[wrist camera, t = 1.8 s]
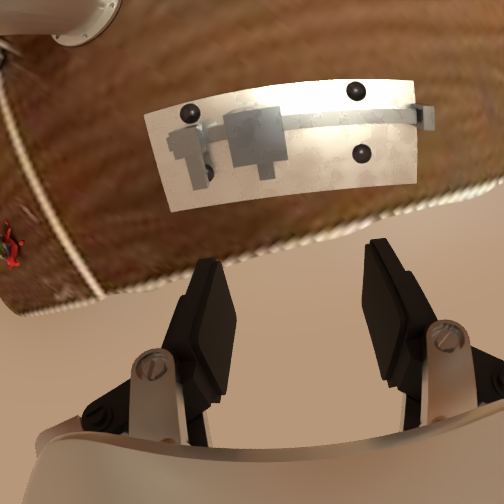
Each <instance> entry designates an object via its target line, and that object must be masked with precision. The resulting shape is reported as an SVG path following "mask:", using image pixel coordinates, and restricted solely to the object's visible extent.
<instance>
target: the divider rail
mask: <svg viewBox="0 0 504 504" xmlns="http://www.w3.org/2000/svg"><path fill="white" fill-rule="evenodd" d="M411 104H412V108H402V107H368V108H342V109H326V110H314V111H303V112H294V113H285V114H281V115H282V122H283V128H284V131H287V130H295V129H304V128H315V127H326V126H340V125H357V124H393V123H405V124H413V126H415V127H417V128H420V129H422V130H435V119H434V106H430V105H425V104H417V103H411ZM168 134H169V137H167V138H166V140H167V144H168V148H169V152H171V151H173V154H174V157H175V160H178V159H183V158H185V161H186V165H187V169H188V172H189V176H190V180H191V184H192V188H193V191H195V190H200V189H206V188H208V187H209V185H210V184H209V180H208V176H207V175H208V173H207V171H206V168H205V163H204V159H203V155H202V154H203V153H204V152H205V151H206V150H207V147H206V144H207V143H212V142H217V141H222V140H228V139H227V134H226V130H225V125H224V123H222V124H217V125H212V126H208V127H203V128H202V125H201V124H197V125H193V126H188V127H184V128H180V129H176V130H174V131H172V132H170V133H168Z"/></svg>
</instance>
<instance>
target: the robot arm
mask: <svg viewBox="0 0 504 504" xmlns="http://www.w3.org/2000/svg"><path fill="white" fill-rule="evenodd" d="M121 1H122V0H0V35H15V34H42V35H52V37H53V39H54V40H55V41H56V42H57V43H59V44H61V45H64V46H79V45H82V44H85V43H87V42H89V41H91V40H92V39H94V38H95V37H97V36H98V35H99V34H100V33H102V32H103V31H104V30H105V29H106V27H107V26H108V25H109V24H110V23H111V21H112V20H113V18H114V17H115V15H116V13H117V11H118V9H119V7H120V4H121ZM362 308H363V312H364V315H365V319H366V322H367V325H368V329H369V333H370V336H371V340H372V343H373V347H374V350H375V354H376V358H377V362H378V366H379V369H380V374H381V377H382V380H387V382H388V386H389V388H391V387H396V386H397V388H398V390H399V391H401V392H403V399H402V411H401V421H400V430H399V432H398V433H394V434H390V435H385V436H380V437H376V438H370V439H365V440H359V441H353V442H346V443H339V444H331V445H324V446H314V447H301V448H283V449H228V448H213V446H212V441H211V436H210V430H209V424H208V418H207V413H206V409H208V408H209V407H210V406H211V403H220V400H221V395H225V394H226V391H227V384H228V377H229V371H230V364H231V357H232V349H233V342H234V336H235V329H236V322H237V320H236V312H235V309H234V305H233V302H232V299H231V296H230V292H229V289H228V285H227V281H226V278H225V275H224V271H223V267H222V264H221V262H220V261H216V260H215V258H205V259H199V260H198V262H197V265H196V267H195V270H194V273H193V275H192V278H191V281H190V283H189V286H188V289H187V292H186V294H185V295H182V296H181V297H180V299H179V301H178V303H177V306H176V309H175V311H174V314H173V317H172V319H171V322H170V325H169V328H168V331H167V333H166V336H165V339H164V341H163V344H162V347H161V348H156V349H150V350H148V351H145V352H144V353H142V354H141V355H140V356H139V357H138V358H137V359H136V360H135V362H134V363H133V365H132V369H131V378H130V379H129V380H127V381H126V382H124V383H122V384H121V385H119V386H118V387H116V388H115V389H113V390H111V391H110V392H108V393H106V394H105V395H103V396H102V397H100V398H98V399H97V400H95V401H93V402H92V403H91V404H89V405H88V406H87V408H86V409H85V410H84V412H83V415H82V417H80V416H79V415H77V416H75V417H73V418H70V419H68V420H66V421H64V422H62V423H60V424H58V425H56V426H53V427H51V428H49V429H47V430H44V431H43V432H41V433H40V434H39V436H38V437H37V439H36V444H35V447H36V454H37V461H36V463H35V465H34V468H33V470H32V473H31V475H30V478H29V482H28V485H27V488H26V491H25V494H24V498H23V502H22V504H504V361H503V360H501V359H498V358H496V357H494V356H492V355H490V354H488V353H485V352H483V351H481V350H479V349H477V348H475V347H472V346H471V345H470V340H469V336H468V334H467V331H466V330H465V329H464V327H462V326H461V325H460V324H459V323H457V322H454V321H452V320H439V321H438V320H437V318H436V316H435V314H434V312H433V310H432V308H431V306H430V304H429V302H428V300H427V298H426V297H425V295H424V293H423V291H422V289H421V287H420V286H419V284H418V282H417V280H416V279H415V277H414V275H413V274H412V272H411V271H405V269H404V268H403V266H402V264H401V263H400V261H399V259H398V257H397V256H396V254H395V253H394V251H393V249H392V247H391V246H390V244H389V242H388V241H387V239H386V238H381V239H372V240H370V244H366V245H365V259H364V276H363V290H362Z"/></svg>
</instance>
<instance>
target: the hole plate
mask: <svg viewBox="0 0 504 504" xmlns="http://www.w3.org/2000/svg"><path fill="white" fill-rule="evenodd" d="M276 102H278V103H279V105H280V109H281V114H285V113H294V112H303V111H314V110H326V109H342V108H368V107H402V108H412V104H411V103H415V93H414V82H413V81H406V80H383V79H350V80H326V81H312V82H300V83H291V84H282V85H274V86H267V87H260V88H254V89H248V90H242V91H236V92H231V93H226V94H221V95H216V96H212V97H207V98H203V99H199V100H195V101H191V102H187V103H183V104H179V105H175V106H172V107H168V108H165V109H161V110H158V111H155V112H152V113H148V114H145V115H144V118H145V122H146V126H147V130H148V134H149V138H150V141H151V145H152V149H153V152H154V156H155V160H156V163H157V167H158V170H159V174H160V177H161V181H162V184H163V187H164V191H165V194H166V197H167V200H168V204H169V207H170V210H171V212H175V211H181V210H187V209H193V208H199V207H205V206H211V205H218V204H224V203H231V202H238V201H245V200H252V199H259V198H267V197H274V196H282V195H290V194H299V193H308V192H317V191H326V190H336V189H347V188H358V187H370V186H382V185H396V184H412V183H417V127H415V126H413V124H405V123H393V124H357V125H340V126H326V127H315V128H304V129H295V130H287V131H284V134H285V141H286V147H287V154H288V160H284V161H276V162H274V168H275V175H276V179H270V180H262V181H260V179H259V173H258V168H257V164H255V165H248V166H242V167H236V168H233V163H232V158H231V154H230V149H229V144H228V140H222V141H217V142H212V143H207V144H206V147H207V150H206V151H205V152H204V153H203V154H202V155H203V159H204V163H205V168H206V171H207V173H208V175H207V176H208V180H209V184H210V185H209V187H208V188H206V189H200V190H195V191H193V188H192V184H191V180H190V176H189V172H188V169H187V165H186V161H185V158H183V159H178V160H175V157H174V154H173V151H171V152H169V148H168V144H167V140H166V138H167V137H169V134H168V133H170V132H172V131H174V130H176V129H180V128H184V127H188V126H193V125H197V124H201V125H202V128H203V127H208V126H212V125H217V124H222V123H224V120H223V115H224V114H226V113H227V112H229V111H231V110H233V109H238V108H243V107H249V106H256V105H262V104H269V103H276Z"/></svg>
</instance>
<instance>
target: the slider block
mask: <svg viewBox="0 0 504 504" xmlns="http://www.w3.org/2000/svg"><path fill="white" fill-rule="evenodd" d="M223 120H224V125H225V130H226V134H227V139H228V144H229V149H230V154H231V158H232V163H233V168H236V167H242V166H248V165H255V164H257V168H258V173H259V179H260V181H262V180H270V179H276V175H275V168H274V162H276V161H284V160H288V154H287V147H286V141H285V134H284V128H283V122H282V115H281V109H280V105H279V103H278V102H276V103H269V104H262V105H256V106H249V107H243V108H238V109H233V110H231V111H229V112H227V113H226V114H224V115H223Z"/></svg>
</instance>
